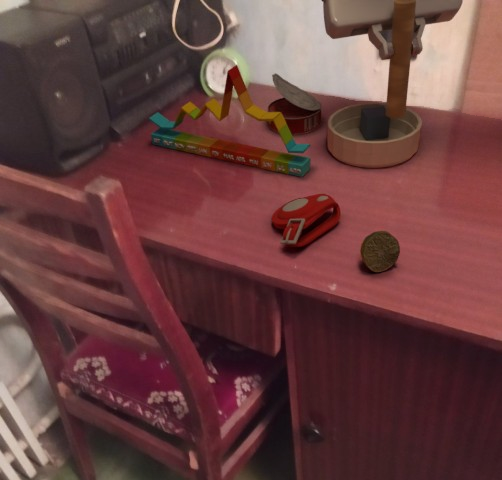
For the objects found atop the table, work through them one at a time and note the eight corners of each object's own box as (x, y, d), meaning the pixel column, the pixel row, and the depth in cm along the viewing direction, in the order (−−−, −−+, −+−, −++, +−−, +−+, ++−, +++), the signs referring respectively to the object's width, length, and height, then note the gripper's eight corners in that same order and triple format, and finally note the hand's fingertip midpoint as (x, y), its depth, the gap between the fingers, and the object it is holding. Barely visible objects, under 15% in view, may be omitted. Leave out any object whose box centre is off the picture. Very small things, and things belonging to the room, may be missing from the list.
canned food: (286, 135, 115) (295, 80, 112) (327, 142, 110) (339, 85, 106) (248, 127, 107) (258, 69, 104) (291, 135, 101) (303, 73, 98)
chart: (151, 144, 106) (134, 58, 96) (162, 137, 108) (146, 52, 98) (301, 177, 94) (300, 83, 84) (310, 168, 96) (310, 75, 85)
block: (381, 128, 103) (384, 105, 100) (388, 138, 100) (390, 115, 98) (359, 130, 103) (361, 108, 100) (365, 140, 100) (367, 118, 97)
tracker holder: (261, 206, 86) (323, 179, 86) (271, 232, 89) (332, 206, 88) (278, 234, 76) (349, 204, 76) (289, 263, 78) (358, 233, 78)
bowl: (410, 125, 105) (413, 100, 101) (425, 166, 94) (429, 140, 91) (325, 129, 106) (325, 104, 103) (330, 171, 95) (330, 144, 92)
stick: (400, 109, 93) (410, -4, 82) (408, 116, 91) (419, 1, 80) (382, 112, 93) (390, -1, 82) (390, 119, 90) (399, 4, 80)
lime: (401, 262, 76) (406, 230, 73) (382, 281, 74) (385, 249, 70) (372, 250, 79) (375, 219, 75) (352, 268, 76) (354, 236, 73)
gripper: (319, -42, 81) (339, 55, 81) (456, -61, 84) (476, 33, 83) (309, -13, 88) (329, 76, 87) (437, -32, 90) (456, 55, 90)
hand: (402, 55), depth 85 cm, fingers closed on stick, 3 cm apart
